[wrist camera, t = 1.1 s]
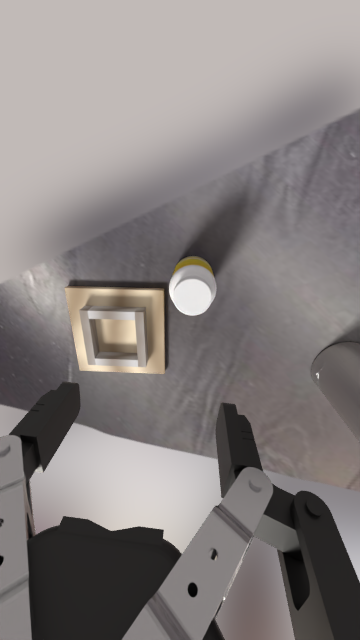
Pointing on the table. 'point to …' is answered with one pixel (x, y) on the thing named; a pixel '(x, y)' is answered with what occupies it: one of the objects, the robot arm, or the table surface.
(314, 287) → the table surface
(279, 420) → the table surface
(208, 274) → the supplement bottle
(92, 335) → the socket stand
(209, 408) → the table surface
